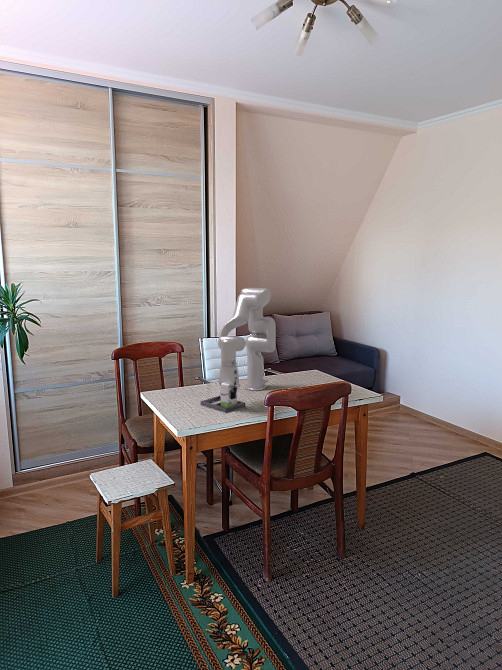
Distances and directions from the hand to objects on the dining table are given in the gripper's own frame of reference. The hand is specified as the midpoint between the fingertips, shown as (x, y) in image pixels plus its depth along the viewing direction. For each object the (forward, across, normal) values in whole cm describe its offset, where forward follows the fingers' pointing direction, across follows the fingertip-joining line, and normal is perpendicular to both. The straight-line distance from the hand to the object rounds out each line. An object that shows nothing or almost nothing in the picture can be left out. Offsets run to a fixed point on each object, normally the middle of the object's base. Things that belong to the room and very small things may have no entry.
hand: (228, 397), depth 240 cm
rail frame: (+5, +4, 0) cm, 7 cm away
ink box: (+4, 0, 0) cm, 4 cm away
